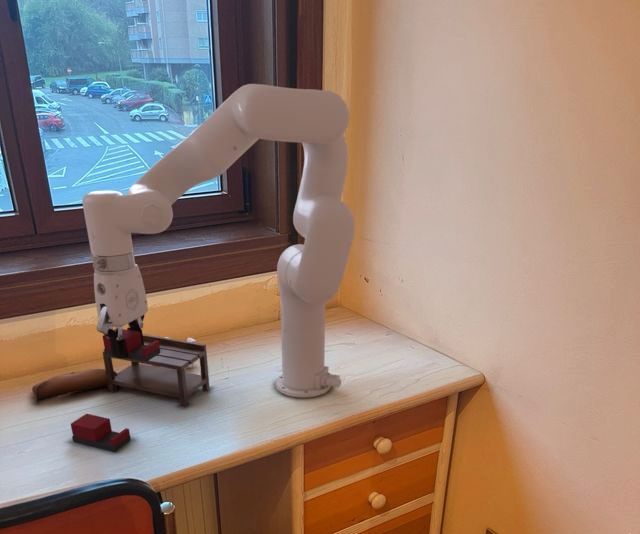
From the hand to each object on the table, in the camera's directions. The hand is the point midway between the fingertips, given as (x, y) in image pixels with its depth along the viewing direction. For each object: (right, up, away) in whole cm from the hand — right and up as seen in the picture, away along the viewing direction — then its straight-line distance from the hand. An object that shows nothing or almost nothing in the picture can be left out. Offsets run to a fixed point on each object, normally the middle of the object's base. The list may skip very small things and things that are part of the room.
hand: (128, 351), depth 128 cm
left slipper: (-4, -18, -4) cm, 19 cm away
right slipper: (+1, -1, 0) cm, 1 cm away
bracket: (+1, +1, +30) cm, 30 cm away
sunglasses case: (-17, -7, +16) cm, 24 cm away
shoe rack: (+2, -7, +16) cm, 17 cm away
